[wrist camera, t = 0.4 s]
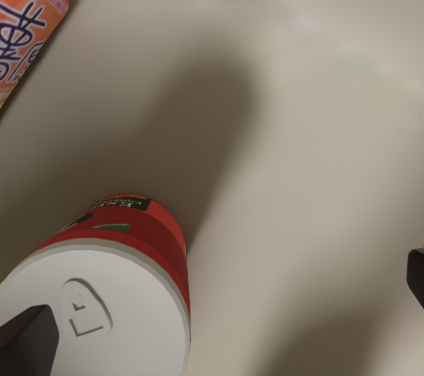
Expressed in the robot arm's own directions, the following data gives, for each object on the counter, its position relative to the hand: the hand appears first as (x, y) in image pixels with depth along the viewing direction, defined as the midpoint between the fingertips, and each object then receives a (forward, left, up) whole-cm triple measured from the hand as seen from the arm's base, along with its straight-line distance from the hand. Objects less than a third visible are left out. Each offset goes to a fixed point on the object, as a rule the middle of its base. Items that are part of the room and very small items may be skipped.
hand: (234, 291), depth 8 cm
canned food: (-2, +6, -15) cm, 16 cm away
